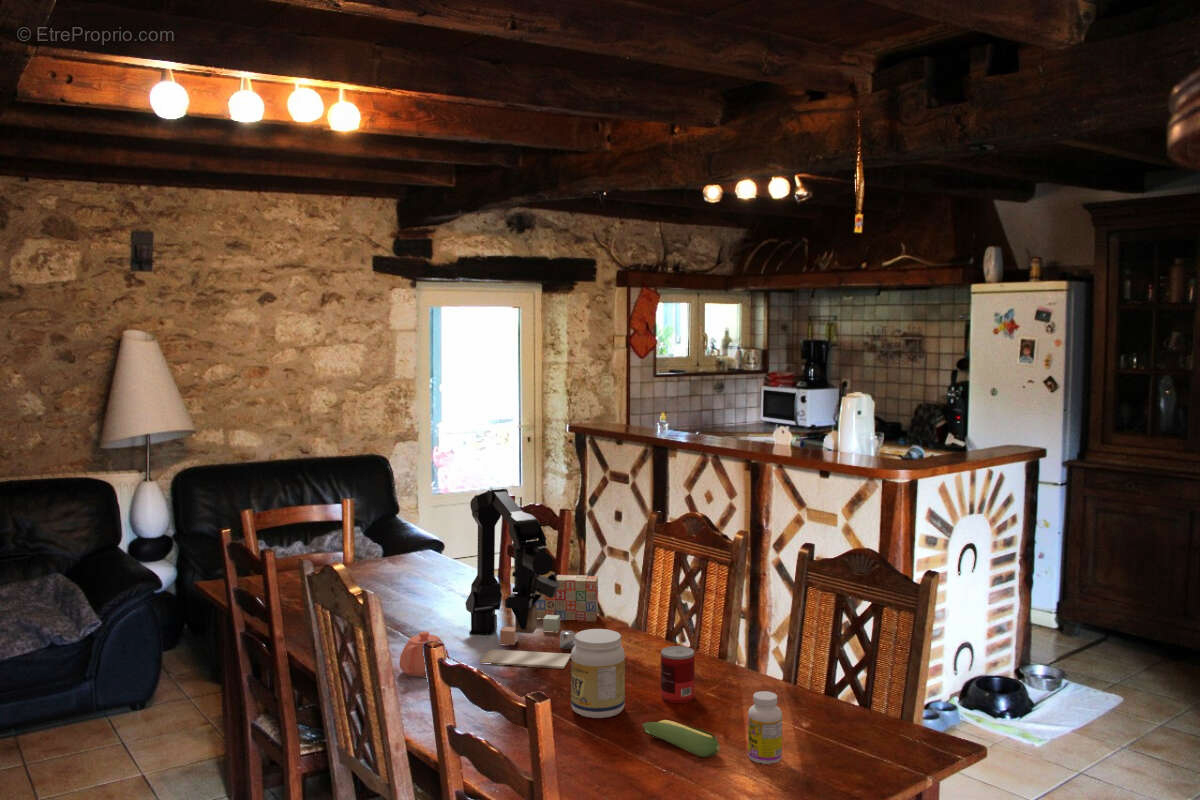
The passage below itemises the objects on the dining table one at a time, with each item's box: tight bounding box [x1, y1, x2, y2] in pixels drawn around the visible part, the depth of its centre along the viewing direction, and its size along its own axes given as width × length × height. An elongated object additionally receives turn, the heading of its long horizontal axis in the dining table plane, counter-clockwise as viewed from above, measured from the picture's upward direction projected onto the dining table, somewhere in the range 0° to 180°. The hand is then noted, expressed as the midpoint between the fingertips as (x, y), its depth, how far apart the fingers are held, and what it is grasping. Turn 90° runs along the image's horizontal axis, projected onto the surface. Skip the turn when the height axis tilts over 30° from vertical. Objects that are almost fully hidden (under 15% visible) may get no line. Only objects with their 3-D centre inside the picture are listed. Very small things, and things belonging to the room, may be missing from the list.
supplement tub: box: [570, 628, 626, 719], centre depth 220 cm, size 12×12×17 cm
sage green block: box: [542, 615, 561, 633], centre depth 279 cm, size 4×4×4 cm
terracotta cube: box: [499, 626, 519, 646], centre depth 268 cm, size 4×4×4 cm
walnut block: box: [514, 605, 538, 634], centre depth 253 cm, size 4×4×6 cm
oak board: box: [479, 649, 571, 670], centre depth 254 cm, size 22×10×1 cm, turn 80°
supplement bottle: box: [747, 690, 783, 765], centre depth 194 cm, size 7×7×13 cm
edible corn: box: [641, 719, 721, 758], centre depth 201 cm, size 5×20×5 cm, turn 44°
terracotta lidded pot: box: [399, 631, 450, 679], centre depth 243 cm, size 12×14×10 cm
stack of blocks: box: [535, 574, 599, 622], centre depth 292 cm, size 21×6×12 cm, turn 85°
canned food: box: [660, 645, 695, 704], centre depth 227 cm, size 8×8×11 cm
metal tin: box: [559, 630, 576, 650], centre depth 264 cm, size 4×4×4 cm
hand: (525, 626), depth 253 cm, fingers closed on walnut block, 4 cm apart
